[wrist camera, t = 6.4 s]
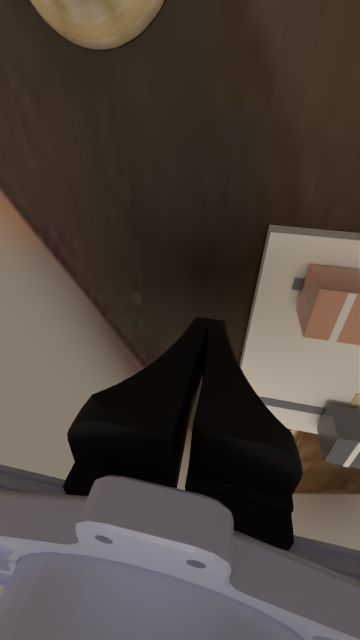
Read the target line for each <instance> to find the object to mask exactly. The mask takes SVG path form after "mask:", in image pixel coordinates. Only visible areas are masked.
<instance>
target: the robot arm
mask: <svg viewBox="0 0 360 640" xmlns="http://www.w3.org/2000/svg"><path fill="white" fill-rule="evenodd" d="M202 374H203V380H202V387H201V391H200V396H199V400H198V405H197V409H196V413H195V418H194V422H193V430H192V440H191V449H190V459H189V467H188V473H187V478H186V484H185V490H180V489H177V484H178V478H179V472H180V467H181V462H182V456H183V451H184V445H185V440H186V435H187V430H188V425H189V420H190V416H191V412H192V408H193V405H194V401H195V398H196V395H197V391H198V388H199V384H200V381H201V378H202ZM67 436H68V442H69V445H70V448H71V451H72V454H73V457H74V460H75V463H74V465H73V467H72V469H71V471H70V473H69V475H68V477H67V478H66V480H63V479H58V478H54V477H50V476H46V475H42V474H38V473H33V472H29V471H25V470H21V469H16V468H13V467H9V466H4V465H0V586H2V587H4V590H3V592H2V594H1V596H0V640H360V551H358V550H354V549H350V548H346V547H342V546H337V545H333V544H329V543H325V542H321V541H317V540H313V539H308V538H304V537H300V536H296V535H293V526H292V517H291V513H292V512H293V499H292V495H293V493H294V491H295V489H296V488H297V486H298V484H299V482H300V480H301V478H302V474H303V472H302V464H301V460H300V456H299V452H298V449H297V446H296V443H295V440H294V437H293V435H292V433H291V432H290V431H289V430H288V429H287V428H286V427H285V426H284V425H283V424H282V423H281V422H280V421H279V420H278V419H277V418H276V417H275V416H274V415H273V414H272V412H271V411H270V410H269V409H268V408H267V407H266V405H265V404H264V403H263V401H262V400H261V399H260V397H259V396H258V395H257V393H256V392H255V391H254V389H253V388H252V386H251V385H250V383H249V382H248V380H247V378H246V377H245V375H244V373H243V371H242V369H241V367H240V365H239V363H238V361H237V359H236V357H235V354H234V352H233V349H232V347H231V344H230V341H229V337H228V334H227V329H226V323H225V321H222V320H215V319H208V318H201V317H196V318H195V319H194V320H193V322H192V323H191V325H190V326H189V327H188V329H187V330H186V331H185V332H184V333H183V335H182V336H181V337H180V338H179V339H178V340H177V341H176V342H175V343H174V344H173V345H172V346H171V347H170V348H169V349H168V350H167V351H166V352H165V353H164V354H163V355H161V356H160V357H159V358H158V359H157V360H155V361H154V362H153V363H151V364H150V365H149V366H147V367H146V368H144V369H143V370H141V371H140V372H138V373H137V374H135V375H133V376H132V377H130V378H128V379H126V380H124V381H122V382H121V383H119V384H117V385H114V386H112V387H110V388H108V389H105V390H103V391H100V392H98V393H95V394H93V395H92V396H91V397H90V398H89V400H88V401H87V402H86V403H85V405H84V406H83V407H82V409H81V410H80V412H79V413H78V415H77V417H76V418H75V420H74V422H73V423H72V425H71V427H70V428H69V431H68V434H67Z"/></svg>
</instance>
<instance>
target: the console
mask: <svg viewBox="0 0 360 640" xmlns="http://www.w3.org/2000/svg"><path fill="white" fill-rule="evenodd" d="M310 265H315V266H325V267H334V268H343V269H352V270H360V233H354V232H343V231H332V230H322V229H311V228H300V227H289V226H279V225H269V228H268V233H267V238H266V242H265V247H264V252H263V256H262V261H261V266H260V271H259V275H258V280H257V285H256V289H255V294H254V299H253V304H252V308H251V313H250V318H249V322H248V327H247V332H246V336H245V341H244V346H243V351H242V355H241V360H240V367H241V369H242V371H243V373H244V375H245V377H246V378H247V380H248V382H249V383H250V385H251V386H252V388H253V389H254V391H255V392H256V393H257V395H258V396H259V397H260V399H261V400H262V401H263V403H264V404H265V405H266V407H267V408H268V409H269V410H270V411H271V412H272V414H273V415H274V416H275V417H276V418H277V419H278V420H279V421H280V422H281V423H282V424H283V425H284V426H285V427H286V428H289V429H294V430H299V431H305V432H310V433H315V434H318V431H317V425H318V423H319V422H320V420H321V418H322V416H323V414H324V412H325V410H326V408H327V406H328V404H333V405H339V406H345V407H350V408H356V409H360V345H354V344H347V343H340V342H336V343H335V342H328V341H327V340H320V339H313V338H306V337H303V335H302V331H301V327H300V323H299V319H298V315H297V311H296V307H297V304H298V301H299V298H300V294H301V291H302V288H303V285H304V282H305V279H306V276H307V272H308V269H309V266H310Z"/></svg>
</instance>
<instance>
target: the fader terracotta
mask: <svg viewBox="0 0 360 640" xmlns="http://www.w3.org/2000/svg"><path fill="white" fill-rule="evenodd" d="M296 311H297V315H298V319H299V323H300V327H301V331H302V335H303V337H306V338H313V339H320V340H327V341H328V342H335V343H336V342H340V343H347V344H354V345H360V270H352V269H343V268H334V267H325V266H315V265H310V266H309V269H308V272H307V276H306V279H305V282H304V285H303V288H302V291H301V294H300V298H299V301H298V304H297V307H296Z"/></svg>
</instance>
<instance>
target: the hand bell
mask: <svg viewBox="0 0 360 640" xmlns="http://www.w3.org/2000/svg"><path fill="white" fill-rule="evenodd" d="M30 1H31V2H32V4H33V5H34V7H35V8H36V10H37V11H38V12H39V14H40V15H41V16H42V17H43V18H44V20H45V21H46V22H47V23H48V24H49V25H50V26H51V27H52V28H53V29H54V30H55V31H57V32H58V33H59V34H60V35H62V36H63V37H65V38H66V39H68V40H69V41H71V42H73V43H75V44H77V45H79V46H82V47H86V48H89V49H96V50H105V49H113V48H116V47H119V46H122V45H124V44H126V43H127V42H129V41H131V40H133V39H134V38H135V37H137V36H138V35H140V34H141V33H142V32H143V31H144V30H145V29H146V28H147V27H148V25H149V24H150V23H151V22H152V20H153V19H154V18H155V16H156V15H157V13H158V12H159V11H160V9H161V7H162V5H163V3H164V1H165V0H30Z"/></svg>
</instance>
